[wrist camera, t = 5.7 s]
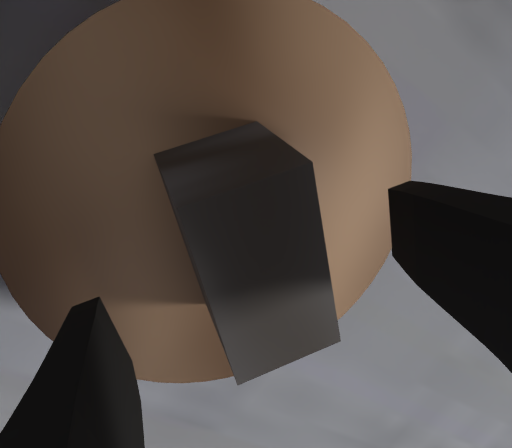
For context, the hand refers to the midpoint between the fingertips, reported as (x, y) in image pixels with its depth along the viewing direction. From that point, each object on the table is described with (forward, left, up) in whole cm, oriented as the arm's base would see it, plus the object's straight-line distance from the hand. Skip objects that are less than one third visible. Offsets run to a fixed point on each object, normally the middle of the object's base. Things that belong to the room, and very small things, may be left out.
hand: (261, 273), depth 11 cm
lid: (0, 0, -3) cm, 3 cm away
